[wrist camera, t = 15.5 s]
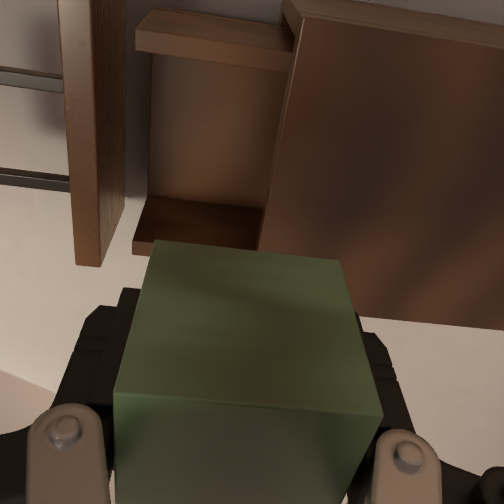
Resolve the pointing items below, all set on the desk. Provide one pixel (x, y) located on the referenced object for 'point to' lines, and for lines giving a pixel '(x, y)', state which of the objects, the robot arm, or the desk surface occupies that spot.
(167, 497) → the block
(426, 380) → the desk surface
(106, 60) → the drawer
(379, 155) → the cabinet
